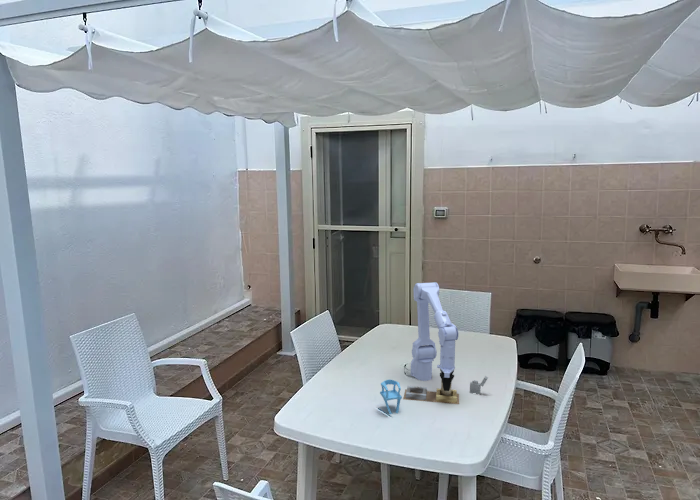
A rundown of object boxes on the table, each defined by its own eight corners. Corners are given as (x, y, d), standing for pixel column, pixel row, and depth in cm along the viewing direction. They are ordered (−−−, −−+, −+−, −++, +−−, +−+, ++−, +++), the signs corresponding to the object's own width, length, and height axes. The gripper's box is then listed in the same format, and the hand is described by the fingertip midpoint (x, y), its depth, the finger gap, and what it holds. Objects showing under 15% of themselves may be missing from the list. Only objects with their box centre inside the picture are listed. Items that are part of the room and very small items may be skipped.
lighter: (469, 392, 210) (470, 374, 209) (470, 391, 211) (471, 373, 210) (486, 396, 206) (487, 377, 205) (487, 394, 208) (488, 376, 207)
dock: (402, 401, 201) (403, 394, 200) (405, 391, 211) (405, 384, 210) (459, 406, 197) (459, 399, 196) (458, 396, 206) (459, 389, 206)
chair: (384, 417, 187) (385, 387, 185) (377, 408, 195) (377, 378, 193) (404, 415, 189) (404, 385, 188) (395, 405, 197) (396, 376, 195)
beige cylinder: (438, 394, 203) (439, 375, 202) (446, 392, 205) (446, 373, 204) (445, 398, 199) (446, 379, 198) (453, 396, 202) (453, 377, 201)
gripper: (437, 349, 208) (436, 380, 210) (436, 361, 194) (435, 394, 195) (455, 350, 206) (454, 381, 208) (455, 362, 192) (454, 396, 194)
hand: (446, 388), depth 202 cm, fingers closed on beige cylinder, 4 cm apart
